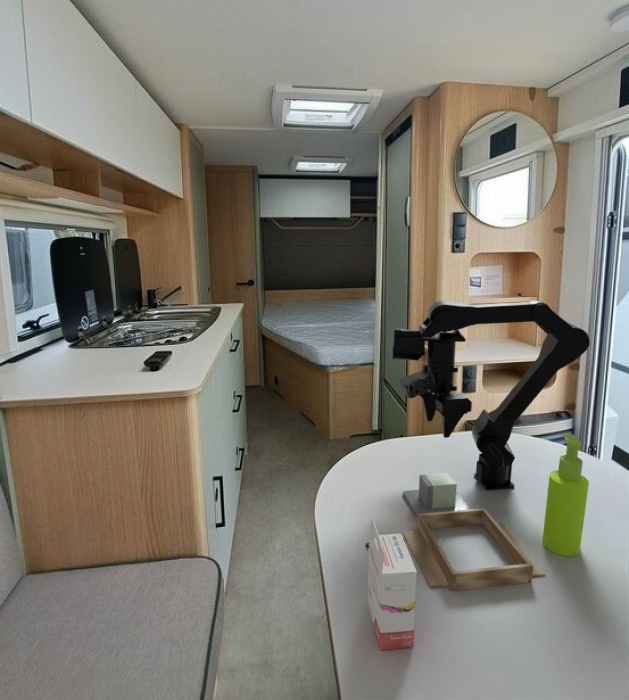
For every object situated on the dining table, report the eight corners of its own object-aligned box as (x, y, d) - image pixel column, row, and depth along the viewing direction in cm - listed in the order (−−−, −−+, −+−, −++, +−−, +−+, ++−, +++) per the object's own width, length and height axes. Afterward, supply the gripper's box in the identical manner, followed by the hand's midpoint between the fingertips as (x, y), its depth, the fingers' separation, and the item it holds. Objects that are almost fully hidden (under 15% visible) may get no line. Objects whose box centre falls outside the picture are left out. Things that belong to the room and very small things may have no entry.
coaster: (452, 490, 101) (452, 486, 100) (473, 516, 91) (473, 513, 91) (403, 494, 99) (403, 491, 99) (418, 521, 90) (419, 518, 90)
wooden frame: (497, 520, 90) (499, 506, 89) (549, 580, 74) (551, 563, 73) (401, 529, 87) (401, 515, 87) (433, 593, 72) (434, 576, 71)
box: (446, 494, 97) (447, 472, 96) (455, 506, 93) (456, 483, 92) (418, 497, 97) (419, 475, 96) (426, 509, 92) (427, 486, 91)
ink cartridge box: (416, 648, 62) (419, 552, 59) (379, 651, 62) (381, 555, 58) (399, 600, 71) (401, 513, 67) (366, 602, 70) (367, 515, 67)
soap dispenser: (575, 535, 85) (588, 433, 80) (582, 559, 79) (597, 450, 74) (539, 529, 87) (550, 429, 82) (544, 552, 80) (556, 445, 76)
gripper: (390, 352, 107) (389, 416, 111) (420, 375, 89) (417, 450, 93) (436, 350, 109) (434, 412, 112) (475, 371, 91) (470, 445, 95)
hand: (437, 428), depth 103 cm, fingers open, 9 cm apart
